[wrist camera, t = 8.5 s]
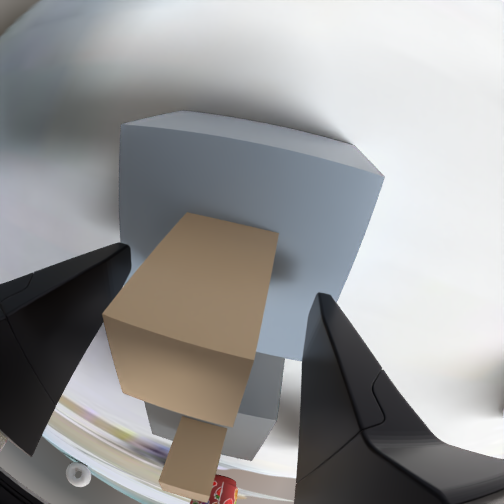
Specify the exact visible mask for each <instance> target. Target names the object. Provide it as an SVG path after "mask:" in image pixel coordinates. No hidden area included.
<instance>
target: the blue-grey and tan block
mask: <svg viewBox="0 0 504 504" xmlns="http://www.w3.org/2000/svg"><path fill="white" fill-rule="evenodd" d="M383 181H384V175H383V174H382V173H381V172H380V171H379V170H378V169H377V168H376V167H375V166H374V165H373V164H372V163H371V162H370V161H369V160H368V159H367V158H366V156H365V155H364V154H363V153H362V152H361V151H360V150H359V149H358V148H357V147H356V146H355V145H351V144H348V143H345V142H341V141H338V140H334V139H330V138H327V137H323V136H319V135H315V134H311V133H307V132H303V131H299V130H295V129H290V128H286V127H281V126H277V125H272V124H267V123H262V122H257V121H252V120H246V119H240V118H234V117H228V116H222V115H215V114H208V113H201V112H193V111H184V110H183V111H178V112H172V113H167V114H162V115H158V116H153V117H149V118H144V119H140V120H136V121H132V122H128V123H124V124H121V134H120V156H119V219H120V241H121V243H124V244H127V245H129V246H130V248H131V263H132V267H131V272H130V274H129V276H128V278H127V280H126V282H125V284H124V287H123V288H122V289H121V290H120V292H119V293H118V294H117V295H116V297H115V298H114V299H113V301H112V302H111V303H110V304H109V306H108V307H107V308H106V310H105V311H104V312H103V314H102V316H103V321H104V325H105V330H106V334H107V338H108V342H109V346H110V350H111V354H112V358H113V361H114V365H115V369H116V372H117V375H118V379H119V382H120V385H121V389H122V392H123V393H125V394H127V395H130V396H132V397H135V398H137V399H140V400H143V401H145V402H148V403H151V404H154V405H156V406H159V407H162V408H165V409H168V410H171V411H174V412H177V413H181V414H184V415H187V416H190V417H194V418H197V419H201V420H205V421H208V422H212V423H216V424H220V425H224V426H228V427H232V428H233V425H234V422H235V419H236V416H237V413H238V410H239V407H240V404H241V401H242V397H243V394H244V391H245V388H246V385H247V382H248V378H249V375H250V372H251V369H252V366H253V362H254V359H255V354H256V352H260V353H264V354H269V355H273V356H278V357H283V358H287V359H292V360H297V361H302V356H303V349H304V342H305V335H306V328H307V320H308V315H309V312H310V309H311V306H312V304H313V301H314V299H315V296H316V294H317V293H318V292H321V293H326V294H330V295H331V296H332V298H333V299H334V300H335V302H336V303H337V300H338V298H339V296H340V294H341V291H342V289H343V287H344V284H345V282H346V280H347V277H348V275H349V272H350V270H351V268H352V265H353V263H354V260H355V258H356V255H357V253H358V250H359V248H360V245H361V243H362V240H363V237H364V235H365V232H366V229H367V227H368V224H369V221H370V218H371V216H372V213H373V210H374V207H375V204H376V201H377V199H378V196H379V193H380V190H381V187H382V184H383Z"/></svg>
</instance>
